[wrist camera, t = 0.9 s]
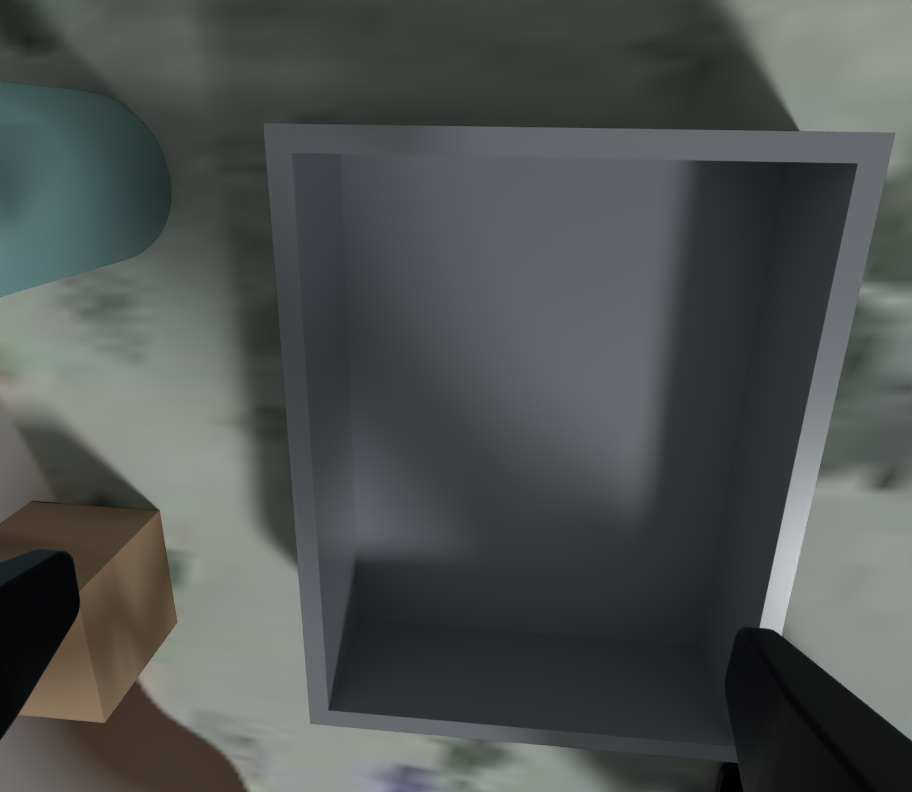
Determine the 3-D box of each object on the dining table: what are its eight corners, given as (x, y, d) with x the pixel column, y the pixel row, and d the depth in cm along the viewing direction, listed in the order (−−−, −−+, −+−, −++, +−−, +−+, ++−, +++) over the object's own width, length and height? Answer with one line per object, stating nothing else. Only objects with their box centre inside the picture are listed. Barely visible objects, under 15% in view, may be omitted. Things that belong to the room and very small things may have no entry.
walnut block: (178, 621, 27) (104, 722, 22) (57, 611, 27) (-40, 709, 22) (160, 509, 25) (76, 594, 20) (32, 500, 25) (-80, 582, 21)
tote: (709, 645, 25) (752, 764, 20) (349, 617, 26) (310, 723, 21) (802, 134, 18) (895, 132, 14) (325, 126, 20) (262, 123, 15)
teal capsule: (180, 264, 22) (30, 318, 15) (31, 259, 22) (-179, 310, 15) (158, 91, 20) (-23, 66, 13) (-4, 89, 20) (-257, 65, 14)
